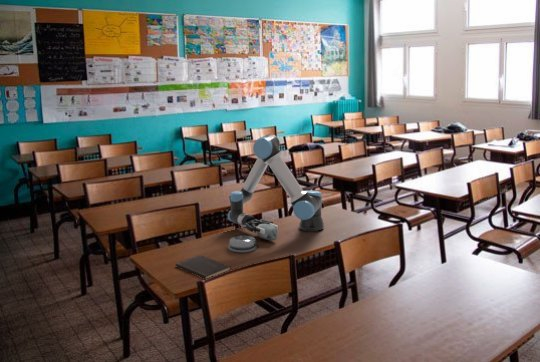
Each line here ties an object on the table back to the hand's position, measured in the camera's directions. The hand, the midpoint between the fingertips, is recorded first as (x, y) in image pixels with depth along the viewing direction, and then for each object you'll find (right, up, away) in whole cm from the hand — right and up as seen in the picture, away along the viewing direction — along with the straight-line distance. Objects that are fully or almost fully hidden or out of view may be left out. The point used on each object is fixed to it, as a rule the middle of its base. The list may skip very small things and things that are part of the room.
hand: (270, 229), depth 291 cm
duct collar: (-15, -9, -8) cm, 19 cm away
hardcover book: (-34, -16, -34) cm, 51 cm away
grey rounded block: (-2, -6, +4) cm, 7 cm away
